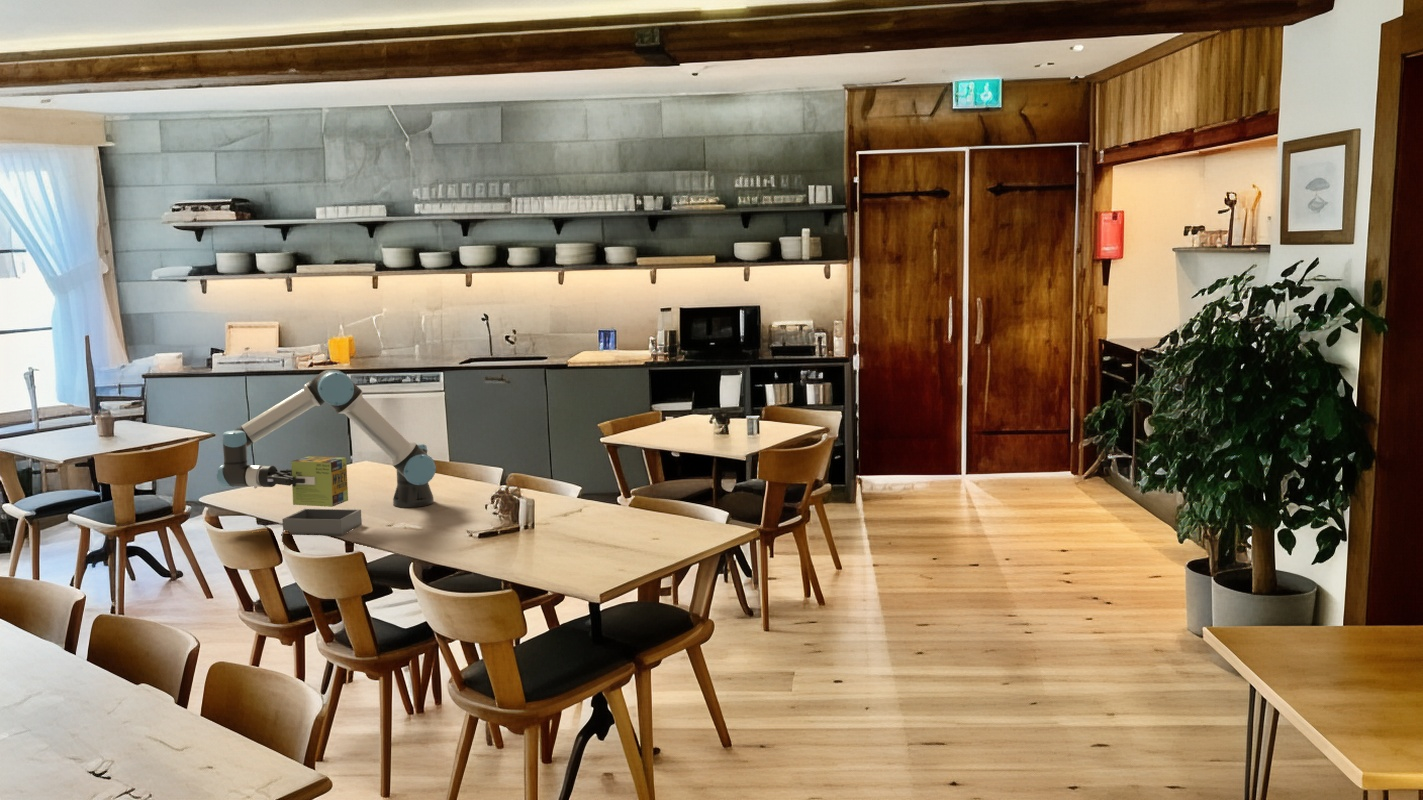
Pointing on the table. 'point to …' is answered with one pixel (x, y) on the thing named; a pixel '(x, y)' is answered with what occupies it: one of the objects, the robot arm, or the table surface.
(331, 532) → the tray
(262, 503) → the table surface
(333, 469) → the protein box
